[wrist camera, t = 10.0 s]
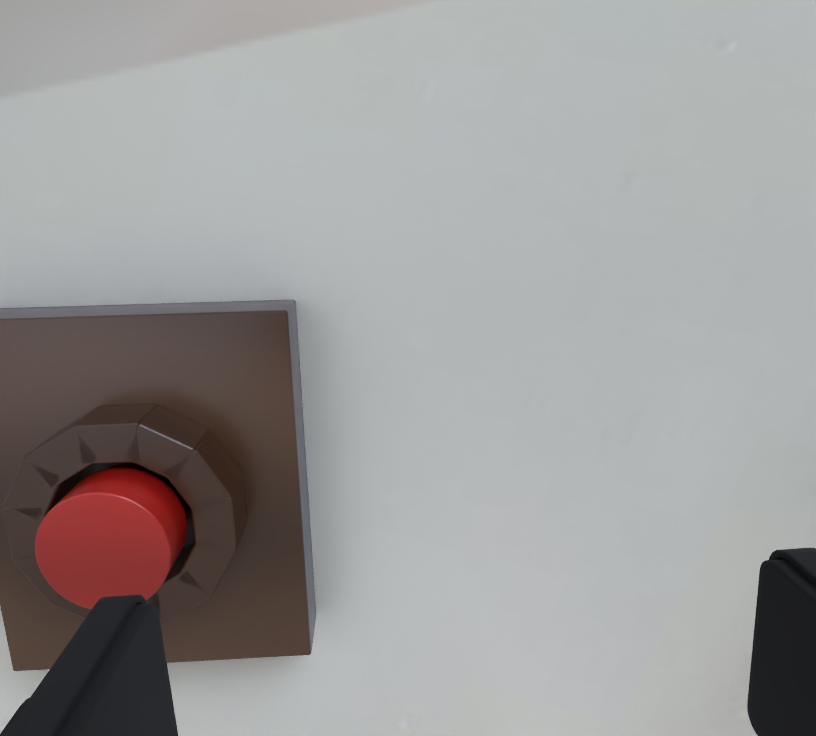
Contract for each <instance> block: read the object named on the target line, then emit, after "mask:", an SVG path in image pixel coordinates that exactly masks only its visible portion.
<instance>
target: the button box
mask: <svg viewBox="0 0 816 736" xmlns="http://www.w3.org/2000/svg"><path fill="white" fill-rule="evenodd" d="M117 467H121V468H133V469H137V470H141V471H144V472H147V473H149V474H151V475H153V476H155V477H157V478H159V479H160V480H162V481H163V482H164V483H166V484H167V485H168V486H169V487H170V488H171V489H172V490H173V491H174V493H175V494H176V495H177V497H178V498H179V500H180V502H181V504H182V506H183V508H184V511H185V514H186V519H187V536H186V539H185V543H184V545H183V548H182V550H181V552H180V553H179V555H178V557H177V559H176V561H175V563H174V565H173V566H172V568H171V570H170V572H169V574H168V576H167V577H166V579H165V581H164V583H163V584H162V586H161V587H160V588H159V589H158V591H157V592H156V593H155V594H153V595H152V596H151V597H150V598H148V599H147V600H146V604H153V603H154V604H155V605H156V606H157V608H158V612H159V618H160V624H161V631H162V637H163V643H164V650H165V656H166V662H167V663H169V662H187V661H205V660H224V659H242V658H260V657H278V656H297V655H310V654H311V650H312V643H313V635H314V628H315V620H316V607H315V592H314V577H313V561H312V546H311V530H310V515H309V500H308V484H307V469H306V453H305V438H304V423H303V407H302V392H301V376H300V361H299V346H298V330H297V315H296V302H295V300H269V301H235V302H201V303H167V304H134V305H100V306H66V307H32V308H0V606H1V611H2V616H3V621H4V626H5V631H6V636H7V641H8V646H9V651H10V656H11V661H12V666H13V670H14V671H23V670H41V669H51V667H52V666H53V664H54V663H55V662H56V660H57V659H58V657H59V656H60V654H61V653H62V652H63V650H64V649H65V647H66V646H67V644H68V643H69V642H70V640H71V639H72V637H73V636H74V634H75V633H76V631H77V630H78V629H79V627H80V626H81V624H82V623H83V621H84V620H85V619H86V617H87V616H88V614H89V613H90V611H91V610H92V609H88V608H85V607H82V606H79V605H77V604H74V603H72V602H70V601H69V600H67V599H65V598H64V597H62V596H61V595H60V594H59V593H57V592H56V591H55V590H54V589H53V588H52V587H51V586H50V585H49V584H48V582H47V581H46V580H45V578H44V576H43V575H42V573H41V571H40V569H39V566H38V564H37V560H36V555H35V539H36V534H37V531H38V528H39V525H40V524H41V522H42V520H43V518H44V517H45V516H46V514H47V513H48V512H49V511H50V510H51V509H52V508H53V507H54V506H55V505H56V504H57V503H58V502H59V501H60V500H61V499H62V498H63V497H64V496H65V495H66V494H67V493H68V492H69V491H71V490H72V489H73V488H74V487H75V486H76V485H77V484H78V483H79V482H80V481H81V480H82V479H84V478H85V477H87V476H89V475H90V474H92V473H95V472H97V471H100V470H104V469H108V468H117Z"/></svg>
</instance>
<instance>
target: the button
mask: <svg viewBox="0 0 816 736" xmlns="http://www.w3.org/2000/svg"><path fill="white" fill-rule="evenodd" d="M186 536H187V519H186V514H185V511H184V508H183V506H182V504H181V502H180V500H179V498H178V497H177V495H176V494H175V493H174V491H173V490H172V489H171V488H170V487H169V486H168V485H167V484H166V483H164V482H163V481H162V480H160V479H159V478H157V477H155V476H153V475H151V474H149V473H147V472H144V471H141V470H137V469H133V468H121V467H117V468H108V469H104V470H100V471H97V472H95V473H92V474H90V475H89V476H87V477H85V478H84V479H82V480H81V481H80V482H79V483H78V484H77V485H76V486H75V487H74V488H73V489H72V490H71V491H69V492H68V493H67V494H66V495H65V496H64V497H63V498H62V499H61V500H60V501H59V502H58V503H57V504H56V505H55V506H54V507H53V508H52V509H51V510H50V511H49V512H48V513H47V514H46V516H45V517H44V518H43V520H42V522H41V524H40V525H39V528H38V531H37V534H36V539H35V555H36V560H37V564H38V566H39V569H40V571H41V573H42V575H43V576H44V578H45V580H46V581H47V582H48V584H49V585H50V586H51V587H52V588H53V589H54V590H55V591H56V592H57V593H59V594H60V595H61V596H62V597H64V598H65V599H67V600H69V601H70V602H72V603H74V604H77V605H79V606H82V607H85V608H88V609H92V608H93V607H94V606H95V604H96V603H97V601H98V600H99V599H100V598H103V597H111V596H125V595H139V594H140V595H142V596H143V597H144V599H145V600H147V599H148V598H150V597H151V596H152V595H153V594H155V593H156V592H157V591H158V589H159V588H160V587H161V586H162V584H163V583H164V581H165V579H166V577H167V576H168V574H169V572H170V570H171V568H172V566H173V565H174V563H175V561H176V559H177V557H178V555H179V553H180V552H181V550H182V548H183V545H184V543H185V539H186Z"/></svg>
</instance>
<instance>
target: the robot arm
mask: <svg viewBox="0 0 816 736" xmlns="http://www.w3.org/2000/svg"><path fill="white" fill-rule="evenodd" d="M748 715H749V718H750V722H751V724H752V727H753V729H754V730H755V732H756V734H757V735H758V736H816V549H815V548H800V549H786V550H776V551H774V552H772V554H771V556H770V558H769V560H766V561H764V562H763V563H762V565H761V568H760V574H759V585H758V596H757V607H756V617H755V628H754V639H753V650H752V661H751V671H750V682H749V693H748ZM0 736H178V732H177V726H176V719H175V713H174V707H173V700H172V694H171V688H170V681H169V675H168V669H167V662H166V656H165V650H164V643H163V637H162V631H161V624H160V618H159V612H158V608H157V606H156V605H155V604H154V603H153V604H146V600H145V599H144V597H143V596H142V595H140V594H139V595H125V596H111V597H103V598H100V599H99V600H98V601H97V603H96V604H95V606H94V607H93V608H92V610H91V611H90V613H89V614H88V616H87V617H86V619H85V620H84V621H83V623H82V624H81V626H80V627H79V629H78V630H77V631H76V633H75V634H74V636H73V637H72V639H71V640H70V642H69V643H68V644H67V646H66V647H65V649H64V650H63V652H62V653H61V654H60V656H59V657H58V659H57V660H56V662H55V663H54V664H53V666H52V667H51V669H50V670H49V672H48V673H47V675H46V676H45V677H44V679H43V680H42V682H41V683H40V685H39V686H38V687H37V689H36V690H35V692H34V693H33V695H32V696H31V697H30V698H28V699H27V700H26V701H25V702H24V703H23V704H22V705H21V706H20V707H19V708H18V710H17V711H16V713H15V714H14V716H13V717H12V718H11V720H10V721H9V723H8V724H7V725H6V727H5V728H4V730H3V731H2V733H1V734H0Z"/></svg>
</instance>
